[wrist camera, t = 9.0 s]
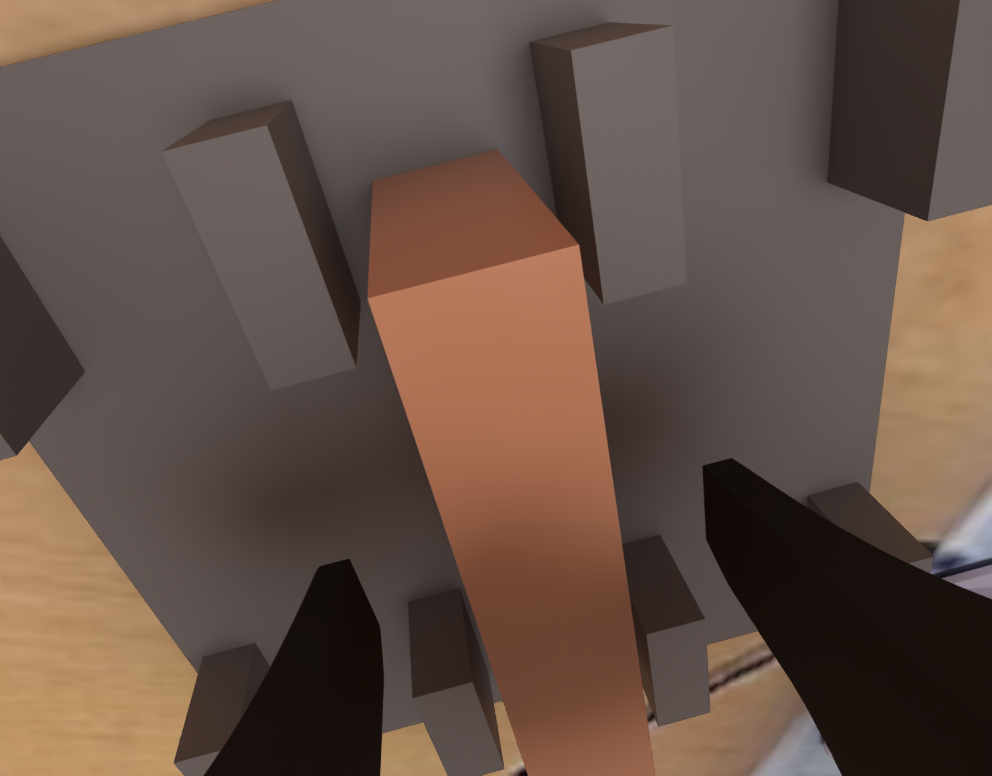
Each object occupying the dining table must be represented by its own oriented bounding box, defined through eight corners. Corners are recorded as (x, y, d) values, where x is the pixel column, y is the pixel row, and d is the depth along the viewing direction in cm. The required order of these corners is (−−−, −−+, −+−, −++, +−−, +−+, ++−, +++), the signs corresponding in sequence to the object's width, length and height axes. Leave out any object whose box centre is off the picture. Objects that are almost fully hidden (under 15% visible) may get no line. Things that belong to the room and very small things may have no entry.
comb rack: (836, 581, 22) (919, 685, 19) (269, 736, 22) (248, 870, 18) (912, -151, 12) (1122, -215, 9) (-163, 109, 12) (-393, 150, 8)
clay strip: (590, 617, 20) (662, 829, 15) (510, 639, 20) (556, 859, 15) (498, 148, 13) (578, 244, 7) (372, 180, 13) (367, 298, 7)
